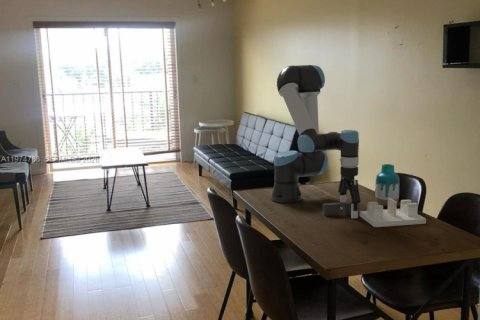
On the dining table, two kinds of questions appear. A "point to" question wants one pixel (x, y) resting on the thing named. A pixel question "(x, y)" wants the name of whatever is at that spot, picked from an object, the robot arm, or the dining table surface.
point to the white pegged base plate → (392, 214)
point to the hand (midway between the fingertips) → (348, 213)
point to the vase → (386, 185)
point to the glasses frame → (337, 208)
